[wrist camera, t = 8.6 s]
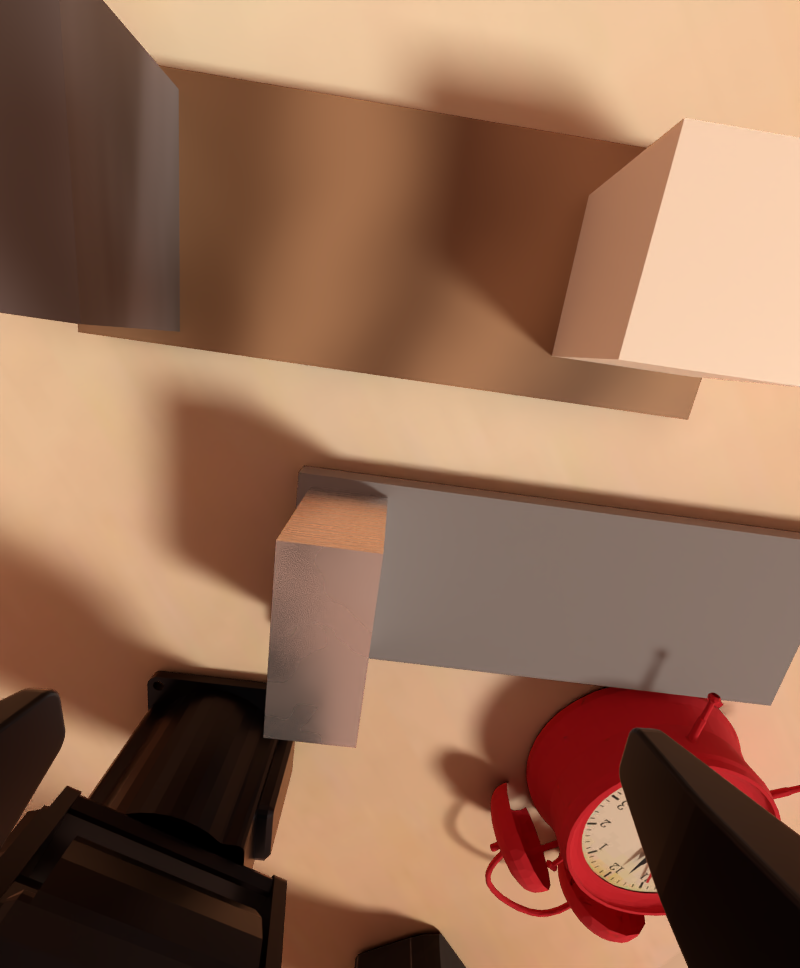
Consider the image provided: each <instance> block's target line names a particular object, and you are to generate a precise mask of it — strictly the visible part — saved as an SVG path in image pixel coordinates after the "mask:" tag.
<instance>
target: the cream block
mask: <svg viewBox="0 0 800 968" xmlns="http://www.w3.org/2000/svg"><path fill="white" fill-rule="evenodd" d="M552 356H554V357H561V358H568V359H574V360H581V361H588V362H595V363H601V364H608V365H615V366H622V367H628V368H635V369H642V370H649V371H655V372H662V373H669V374H676V375H682V376H690V377H700V378H710V379H721V380H731V381H741V382H752V383H762V384H772V385H782V386H793V387H800V137H794V136H789V135H783V134H777V133H771V132H765V131H760V130H754V129H748V128H742V127H736V126H731V125H725V124H719V123H713V122H707V121H702V120H696V119H690V118H684V119H682V120H681V121H680V122H679V123H677V124H676V125H675V126H674V127H673V128H671V129H670V130H669V131H668V132H666V133H665V134H664V135H663V136H661V137H660V138H659V139H658V140H657V141H655V142H654V143H653V144H652V145H650V146H649V147H648V148H647V149H645V150H644V151H643V152H642V153H640V154H639V155H638V156H637V157H636V158H634V159H633V160H632V161H631V162H629V163H628V164H627V165H626V166H624V167H623V168H622V169H621V170H620V171H618V172H617V173H616V174H615V175H613V176H612V177H611V178H610V179H608V180H607V181H606V182H605V183H603V184H602V185H601V186H600V187H599V188H597V189H596V190H595V191H594V192H592V193H591V194H590V195H589V197H588V201H587V206H586V210H585V214H584V219H583V223H582V227H581V232H580V236H579V240H578V245H577V249H576V253H575V258H574V262H573V266H572V271H571V275H570V279H569V284H568V288H567V292H566V297H565V301H564V305H563V310H562V314H561V318H560V323H559V327H558V331H557V336H556V340H555V344H554V349H553V353H552Z"/></svg>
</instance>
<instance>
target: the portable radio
mask: <svg viewBox="0 0 800 968" xmlns="http://www.w3.org/2000/svg"><path fill="white" fill-rule="evenodd" d="M355 968H466V967H465V966H464V965H463V963H462V962H461V961H460V959H459V958H458V956H457V955H456V954H455V952H454V951H453V949H452V948H451V947H450V945H449V944H448V943H447V941H446V940H445V938H444V937H443V936H442V934H424V935H420V936H415V937H411V938H407V939H404V940H401V941H398V942H395V943H392V944H389V945H386V946H383V947H380V948H377V949H374V950H371V951H368V952H365V953H362V954H359V955H358V956H357V957H356V959H355Z"/></svg>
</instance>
